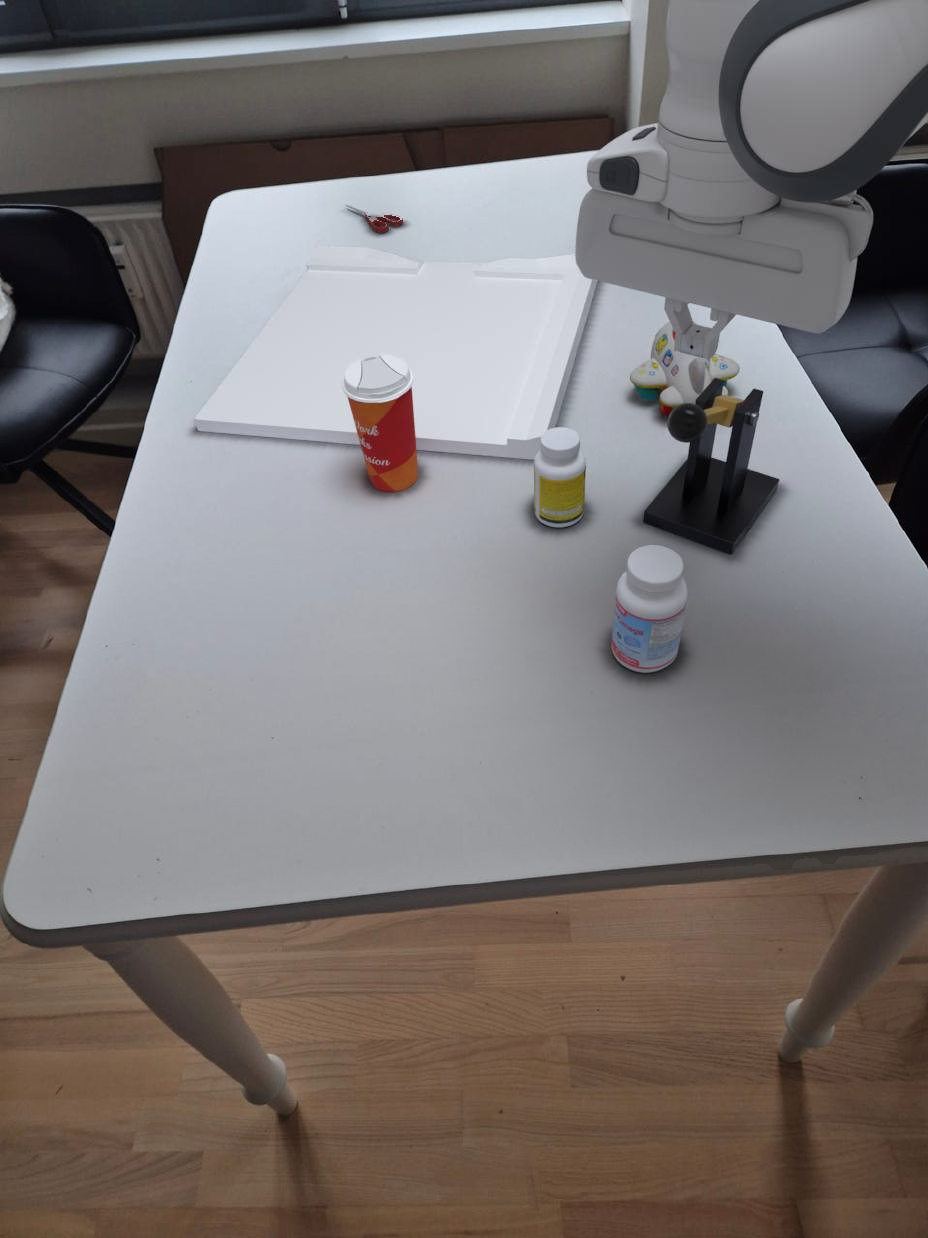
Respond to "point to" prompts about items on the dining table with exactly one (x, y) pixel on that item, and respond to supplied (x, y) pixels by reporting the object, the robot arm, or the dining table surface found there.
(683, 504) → the black lever stand
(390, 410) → the paper cup
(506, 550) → the dining table surface
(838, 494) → the dining table surface
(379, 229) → the scissors
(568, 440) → the supplement bottle
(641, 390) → the toy airplane
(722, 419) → the lever with black knob
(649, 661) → the pill bottle
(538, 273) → the tray
